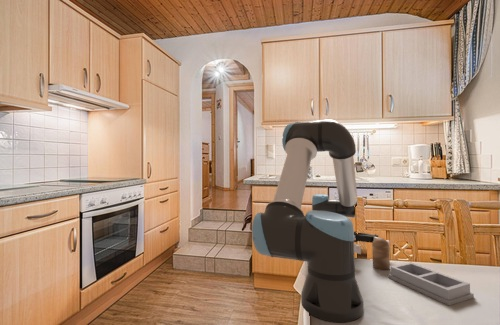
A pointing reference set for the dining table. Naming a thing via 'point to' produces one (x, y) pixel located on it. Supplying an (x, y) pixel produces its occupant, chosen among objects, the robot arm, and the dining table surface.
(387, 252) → the wooden dome-top peg
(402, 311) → the dining table surface
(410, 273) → the two-compartment grey tray
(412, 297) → the dining table surface
